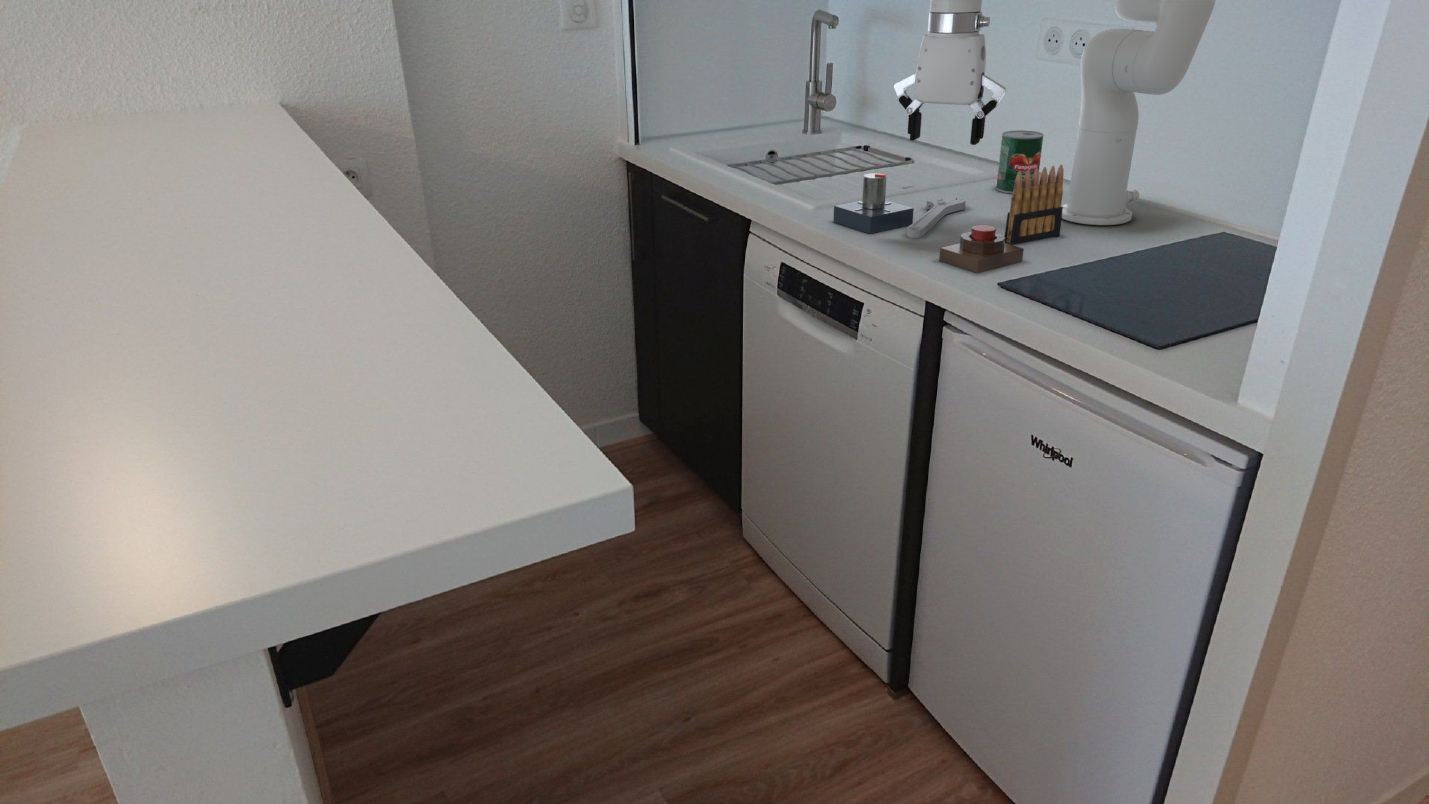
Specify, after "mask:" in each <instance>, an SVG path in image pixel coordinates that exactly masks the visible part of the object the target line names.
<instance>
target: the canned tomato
mask: <svg viewBox="0 0 1429 804" xmlns="http://www.w3.org/2000/svg"><path fill="white" fill-rule="evenodd" d="M1044 134H1045V133H1043V132H1040V131H1036V130H1019V129H1018V130H1007V131H1004V132H1002V133H1001V140H1000V141H1001V143H1000V151H999V162H998V170H997V179H996V188H995V190H996V191H998V192H1001V193H1004V194H1010V195H1011V194H1012V195H1013V190H1014V184H1015V180H1016V176H1017V174H1018V172H1019V171H1021V174H1022V187H1023V181H1024V177H1025V174H1026V172H1027V170H1028V169H1029V171H1030V175H1031V181H1032V177H1033V174H1034V171H1035V169H1036V168H1038V171H1039V172H1040V166H1041V157H1042V151H1043V142H1044V136H1045V135H1044ZM1030 187H1031V184H1030Z"/></svg>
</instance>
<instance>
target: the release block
mask: <svg viewBox="0 0 1429 804" xmlns="http://www.w3.org/2000/svg"><path fill="white" fill-rule="evenodd" d="M1004 236H1005V235H1003V234H1001V233H997V232H996V233H995V240H988V241H982V240H975V239H971V231H968V232H963V233H962V234H961V235H960V241H959V243H955V244H950V245H947V246H942V247H940V248H939V257H938V258H939V259H938V261H939V262H941V263H944V264H947V265H950V266H953V267H957V268H959V269H962V270H965V271H968V272H972V273H974V274H982V273H984V272H988V271H992V270H996V269H1001V268H1004V267H1007V266H1010V265H1011V266H1012V265H1015V264H1018V263H1023V261H1024V260H1023V259H1024V250H1025V249H1024V248H1023V247H1021V246H1017V245H1015V244H1014V245H1010V244H1007V243H1005V237H1004Z"/></svg>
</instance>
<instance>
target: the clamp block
mask: <svg viewBox="0 0 1429 804" xmlns="http://www.w3.org/2000/svg"><path fill="white" fill-rule="evenodd" d="M914 209H915V208H914V207H911V206H908V205H904V204H901V203H896V202H893V201H889V200H886V199H885V207H884V208H882V209H866V208H863V207H862V200H857V201H851V202H847V203H842V204H836V205H834V206H833V223H836V224H838V225H842V226H845V227H847V228H851V229H853V230H857V231H860V232H863V233H866V234H869V235H871V234H875V233H880V232H885V231H889V230H890V231H891V230H895V229H899V228H904V227H909V226H910V225H911V224H913V223H914Z"/></svg>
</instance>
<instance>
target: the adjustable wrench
mask: <svg viewBox="0 0 1429 804" xmlns="http://www.w3.org/2000/svg"><path fill="white" fill-rule="evenodd" d="M926 209H927V210H928V211H926V212H925V213H923V215H921V216H920V217H919V218H917V219H916V220H915V221H913V224H911V225H908V226H907V228H906V237H907V238H912V239H918V238H922V237H923V236H924V235H926V234H927V233H928V232H929V231H930V230H931V229H932V228H933V227H934V226H935V225H936V224H937V223H938V222H939V221H941V219H942V218H943V217H944V216H946V215H948V214H951V213H954V212H960V211H962V210H964V209H966V199H965V198H964V197H961V196H955V199H953V200H943V197H942V196H935V197H932V198H930V200H927V201H926Z"/></svg>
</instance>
